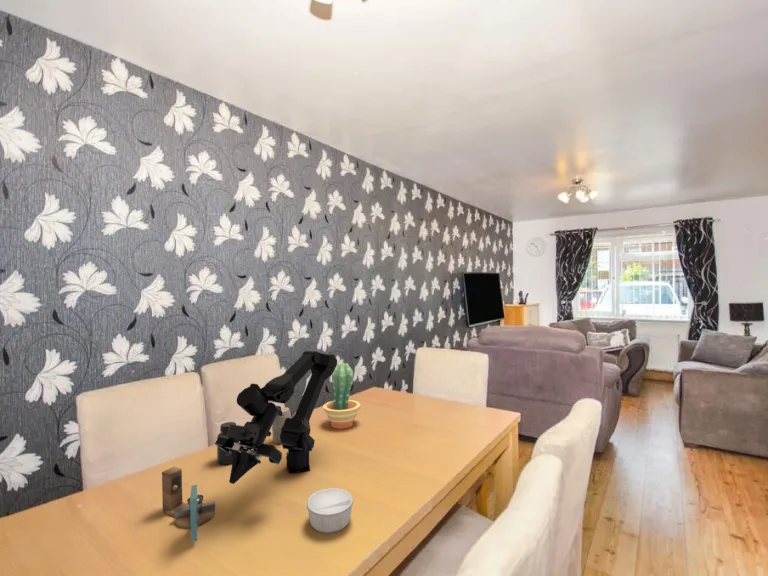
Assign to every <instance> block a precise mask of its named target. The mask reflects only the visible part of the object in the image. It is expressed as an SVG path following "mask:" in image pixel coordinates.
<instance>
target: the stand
mask: <svg viewBox="0 0 768 576" xmlns="http://www.w3.org/2000/svg"><path fill="white" fill-rule="evenodd" d="M161 482H162V483H161V486H162V493H161V494H162V495H161V498H162V511H163V512H165V514H166V515H168V516H171V517H174V519H175V520H174V523H175V525H176V526H177V527H178V528H180V529H191V518H190V514H189V515H185V516H180V517H176V518H175V510H179V509H183V508H187V507H189V504H188V503H187V502H184V501H183V471H182V468H180V467H176V466H172V467H169V468H168V469H166V470H163V471H162V472H161ZM202 504H205V502H204V503H203V502H202ZM215 515H216V507H215V508H214V509H210V510H206V511H202V512H201V513H199V525H198V527H200V526H203V525H204V524H206V523H208V522H210V521H211V520H212V519H213V518H214V517H215Z"/></svg>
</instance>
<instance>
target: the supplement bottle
mask: <svg viewBox="0 0 768 576" xmlns="http://www.w3.org/2000/svg"><path fill="white" fill-rule="evenodd" d="M230 424H232V425H237V423H236V422H233V421H228V422H222V424H220V430H219V433H218V434H217V436H216V440H217V439H218V437H219V436H222V435H224V436H227V433H228V430H229V426H230ZM234 439H235V438H234ZM235 440H236V439H235ZM236 441H237V440H236ZM238 442H239V443H240V441H238ZM216 459H217V461H216V462H217V464H219V465H223V466H226V465H232V461H233V457H232V454H231V453H228V452H225V451H224V450H222V449H221V448H220V447H218V446H217V445H216Z"/></svg>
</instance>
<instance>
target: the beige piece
mask: <svg viewBox="0 0 768 576" xmlns="http://www.w3.org/2000/svg"><path fill="white" fill-rule="evenodd" d="M281 411H282V414H283V415H282V416H276V418H275V420H274V422H273V424H272V427H271V429H272V431H271V436H272V442H273V443H275V444H280V445H282V443H281V440H280V433H281V431H282V430H281V428H282V427H283V425H284V422H285V420H286V418H292V416H291V410H290V407H287V406H286V407H284V406H281Z"/></svg>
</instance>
